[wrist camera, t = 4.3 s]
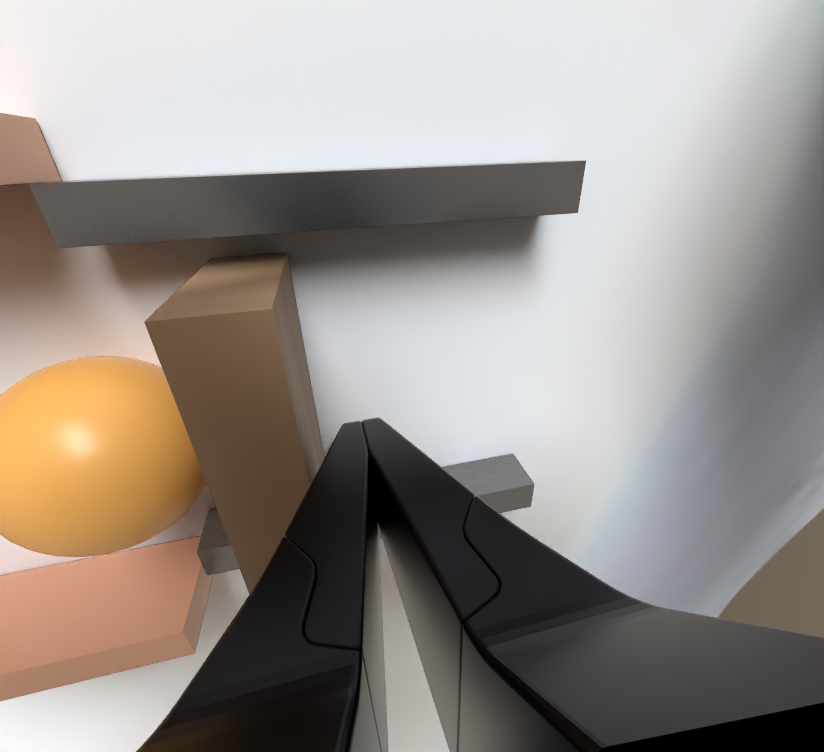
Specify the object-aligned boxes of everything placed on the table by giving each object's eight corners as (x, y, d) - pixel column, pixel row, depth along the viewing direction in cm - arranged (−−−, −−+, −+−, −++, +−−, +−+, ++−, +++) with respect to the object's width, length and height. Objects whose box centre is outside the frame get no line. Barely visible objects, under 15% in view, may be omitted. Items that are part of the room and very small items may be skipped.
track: (548, 161, 9) (585, 160, 8) (510, 475, 14) (530, 506, 13) (76, 180, 8) (27, 183, 6) (217, 532, 12) (207, 575, 11)
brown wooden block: (286, 252, 9) (271, 309, 5) (328, 478, 12) (334, 602, 9) (211, 258, 9) (144, 322, 5) (274, 487, 12) (260, 620, 8)
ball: (65, 440, 5) (-178, 426, 6) (166, 612, 7) (-22, 593, 8) (224, 327, 9) (64, 325, 9) (263, 464, 11) (129, 457, 11)
